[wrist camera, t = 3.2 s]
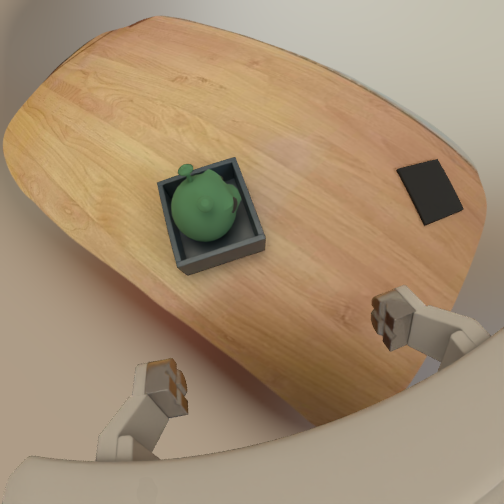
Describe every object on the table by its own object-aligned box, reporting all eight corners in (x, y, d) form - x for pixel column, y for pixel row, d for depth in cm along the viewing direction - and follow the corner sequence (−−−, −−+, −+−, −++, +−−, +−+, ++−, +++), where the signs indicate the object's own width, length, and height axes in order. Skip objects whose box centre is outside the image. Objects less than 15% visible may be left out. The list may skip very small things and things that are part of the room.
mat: (462, 210, 36) (463, 209, 36) (423, 225, 36) (425, 224, 35) (436, 160, 38) (437, 158, 38) (396, 170, 38) (397, 168, 37)
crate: (264, 250, 35) (265, 238, 31) (187, 275, 34) (177, 267, 30) (237, 175, 38) (235, 156, 33) (167, 198, 37) (156, 182, 33)
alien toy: (254, 229, 35) (253, 191, 26) (197, 261, 34) (176, 234, 25) (226, 184, 37) (217, 137, 27) (172, 214, 36) (146, 175, 26)
